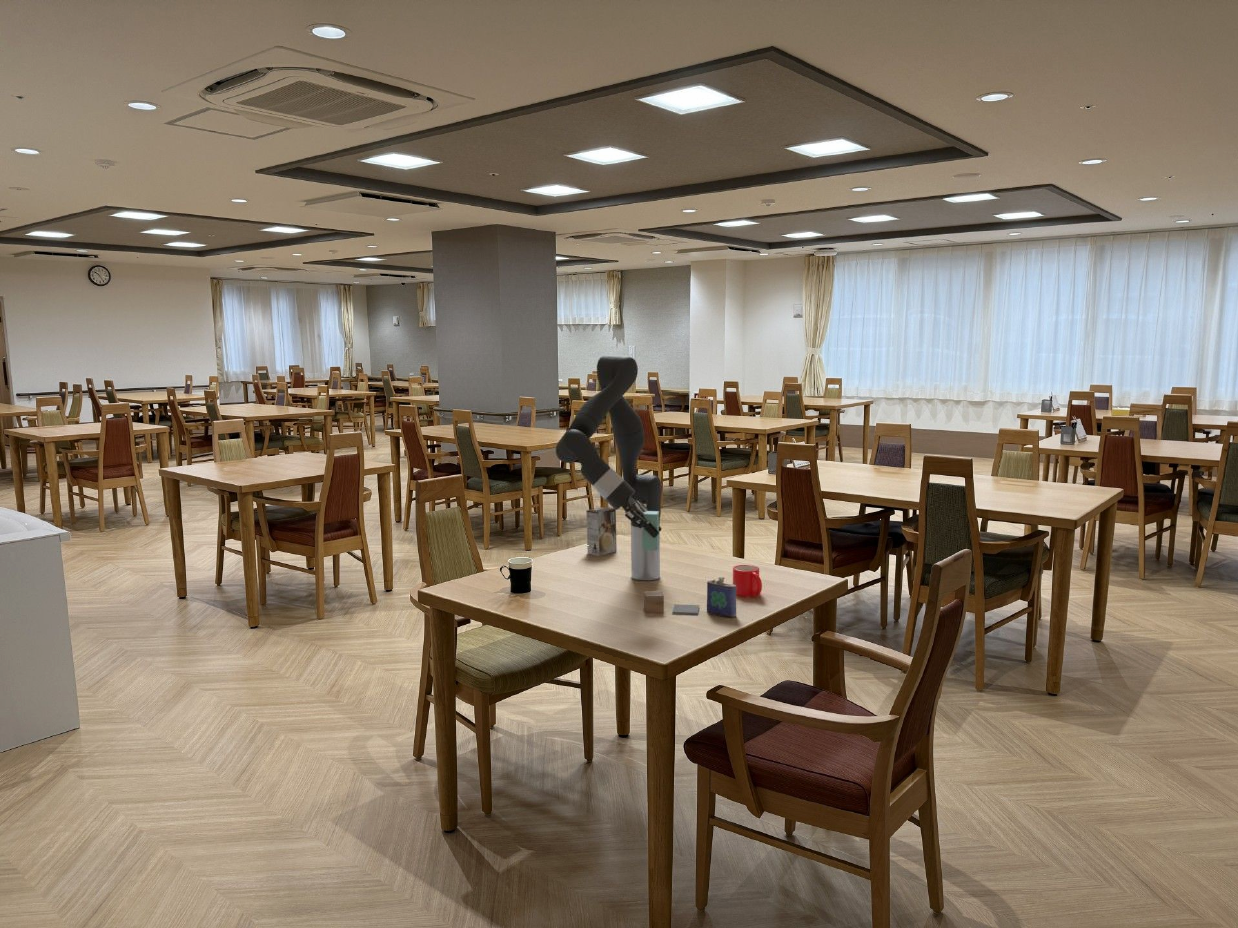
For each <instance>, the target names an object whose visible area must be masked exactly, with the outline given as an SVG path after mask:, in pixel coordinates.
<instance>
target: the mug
mask: <svg viewBox="0 0 1238 928" xmlns="http://www.w3.org/2000/svg"><path fill="white" fill-rule="evenodd" d="M732 584H733V585H736V588H737V590H736V597H739V598H754V597H758V596H759V595H761V592H762V590H763V581H762V579H761V577H760V568H759V567H758V566H756V565H752V564H751V565H750V564H739V565H734V566H733V567H732Z"/></svg>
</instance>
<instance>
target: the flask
mask: <svg viewBox="0 0 1238 928" xmlns="http://www.w3.org/2000/svg"><path fill="white" fill-rule="evenodd" d="M717 579H718V580H717ZM717 579H713V580H712V579H711V580H708V581H707V582H706V585H707V586H706V613H707V614H710V615H714V616H719V617H724V618H729V619H730V618H731V619H734V618H736V617H737V596H736V590H737V588H736V585H733V583H725V579H726V578H725V577H724V576H720V577H717Z"/></svg>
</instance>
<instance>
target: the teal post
mask: <svg viewBox="0 0 1238 928" xmlns="http://www.w3.org/2000/svg"><path fill="white" fill-rule="evenodd" d="M644 513H645V518H646V519H647V520H648V521H649V522H650V523H651V524H652V525H653V526H654V527H655V528H656V529H657V530H658V531H659V511H644ZM650 523H649V524H650ZM642 543H643V550H654V551H657V550H658V548H659V534H658V535H657V536H656V537H655V538H653V537H652V536H651V535H650V534H649V533H648V532H647V531H646V530H645V529H642Z"/></svg>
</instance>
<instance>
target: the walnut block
mask: <svg viewBox="0 0 1238 928" xmlns="http://www.w3.org/2000/svg"><path fill="white" fill-rule="evenodd" d="M664 597H665V595H664V593H663V591H662V590H644V591H643V600H644V601H643V602H644V603H643V608H644V611H645V613H646V614H657V613H658V614H663V613H665V598H664Z"/></svg>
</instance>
